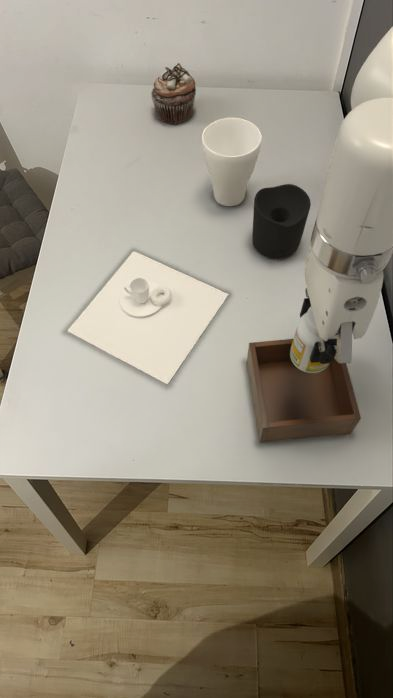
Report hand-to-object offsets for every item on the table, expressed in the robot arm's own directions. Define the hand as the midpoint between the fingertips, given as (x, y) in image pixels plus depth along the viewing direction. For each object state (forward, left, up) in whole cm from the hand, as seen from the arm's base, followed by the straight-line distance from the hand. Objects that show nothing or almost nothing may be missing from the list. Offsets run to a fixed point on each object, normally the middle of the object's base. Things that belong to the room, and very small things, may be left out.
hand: (317, 337), depth 62 cm
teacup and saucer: (+22, -18, -18) cm, 33 cm away
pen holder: (-2, -31, -18) cm, 36 cm away
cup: (+5, -44, -18) cm, 47 cm away
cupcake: (+14, -71, -18) cm, 74 cm away
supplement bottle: (0, 0, -5) cm, 5 cm away
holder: (0, 0, -17) cm, 17 cm away
